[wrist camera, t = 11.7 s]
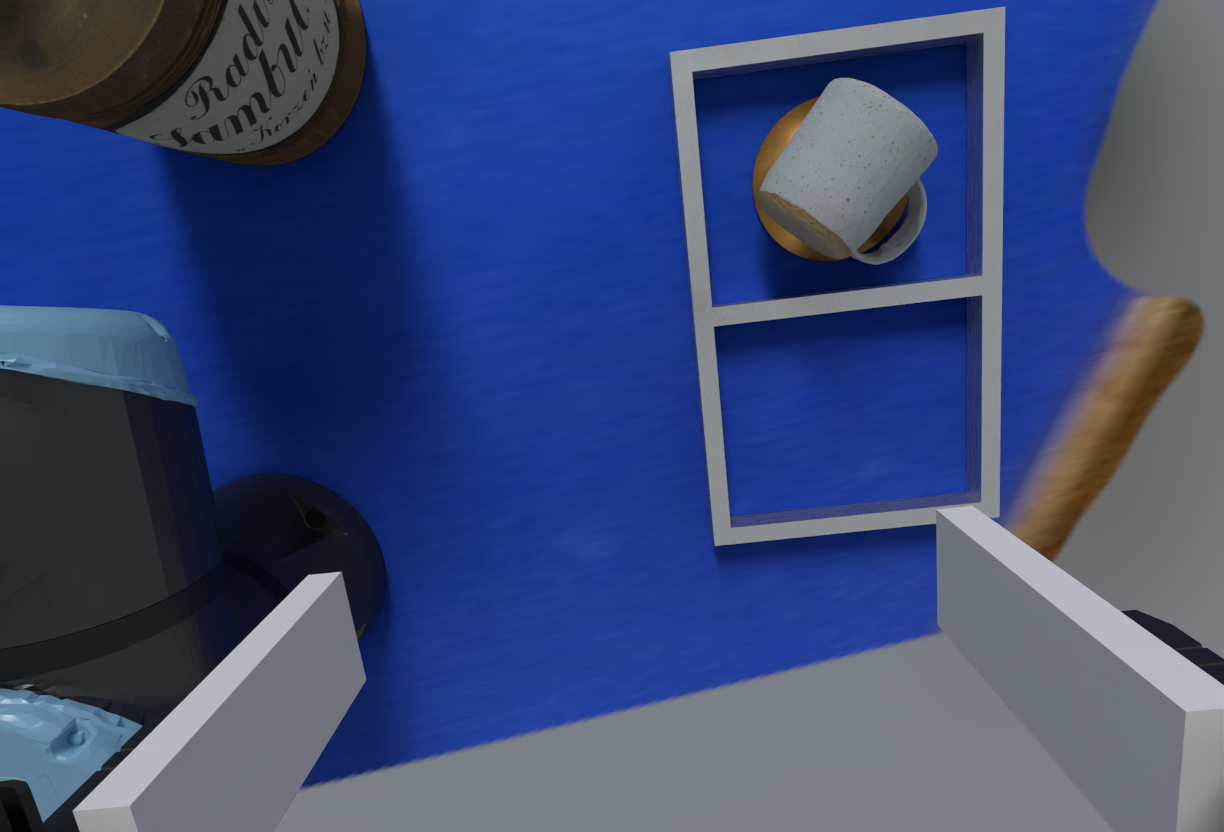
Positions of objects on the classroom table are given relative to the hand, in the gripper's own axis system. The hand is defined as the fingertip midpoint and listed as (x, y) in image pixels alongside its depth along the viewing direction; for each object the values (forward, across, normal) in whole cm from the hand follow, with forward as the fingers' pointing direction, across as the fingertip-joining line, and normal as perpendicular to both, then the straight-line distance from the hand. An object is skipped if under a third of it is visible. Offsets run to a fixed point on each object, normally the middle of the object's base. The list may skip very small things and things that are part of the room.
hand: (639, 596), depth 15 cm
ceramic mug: (+32, +15, +10) cm, 36 cm away
